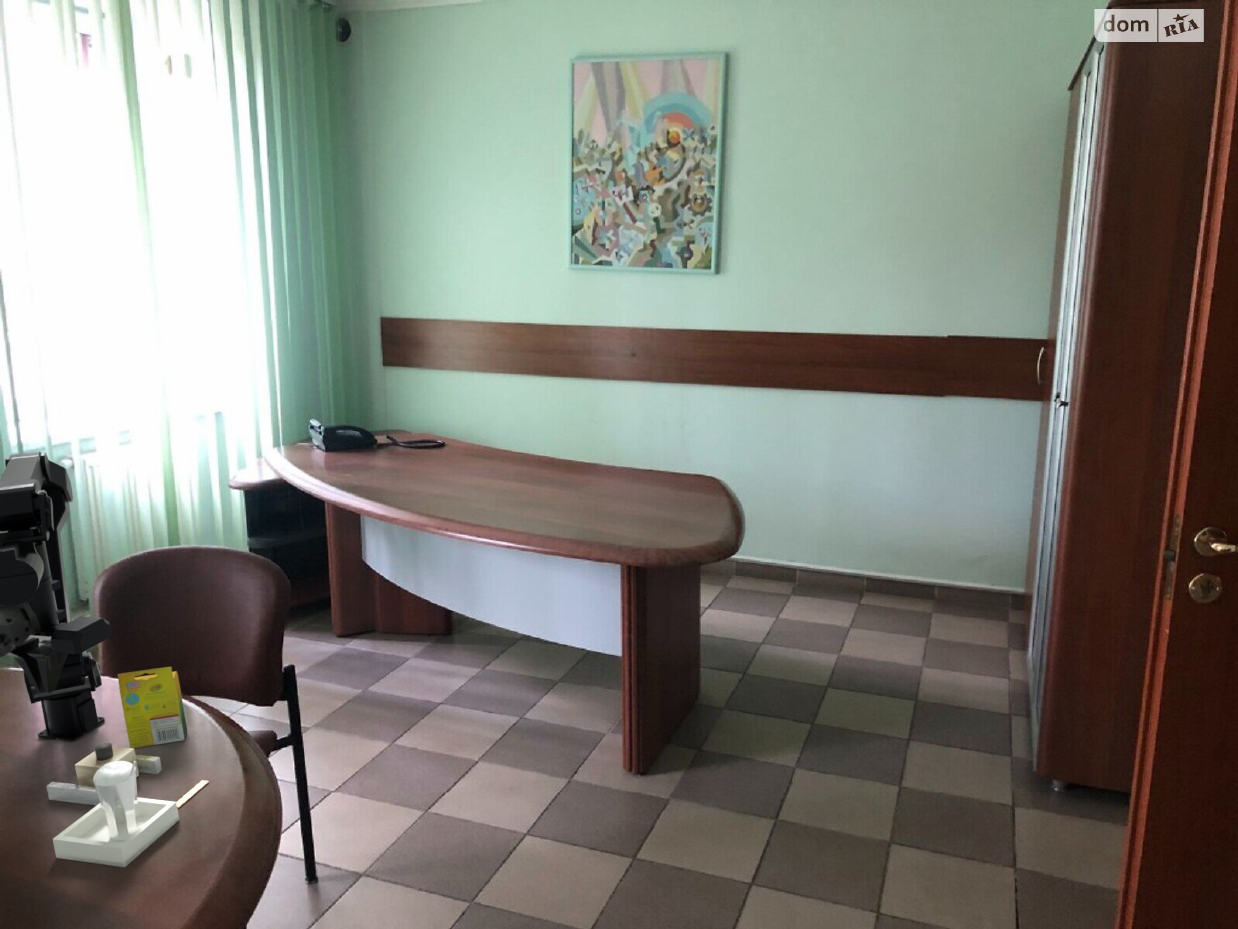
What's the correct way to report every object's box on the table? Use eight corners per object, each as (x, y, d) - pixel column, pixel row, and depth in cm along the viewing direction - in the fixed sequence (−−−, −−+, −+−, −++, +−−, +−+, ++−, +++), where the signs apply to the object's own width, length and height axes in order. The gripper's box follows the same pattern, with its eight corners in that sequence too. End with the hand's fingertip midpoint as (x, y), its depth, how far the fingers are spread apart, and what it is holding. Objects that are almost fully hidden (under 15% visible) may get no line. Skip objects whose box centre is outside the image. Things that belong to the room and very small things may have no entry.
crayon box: (188, 731, 143) (177, 658, 140) (184, 741, 140) (173, 667, 138) (133, 739, 141) (121, 665, 139) (129, 749, 139) (116, 674, 136)
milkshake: (134, 847, 115) (121, 771, 112) (95, 843, 116) (81, 767, 114) (159, 824, 119) (147, 751, 117) (121, 820, 120) (108, 748, 118)
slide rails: (49, 799, 127) (46, 786, 126) (100, 763, 135) (97, 750, 135) (171, 815, 122) (168, 800, 122) (215, 776, 131) (214, 763, 130)
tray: (56, 857, 114) (52, 839, 114) (114, 811, 123) (111, 794, 123) (124, 867, 112) (121, 848, 111) (179, 819, 121) (176, 802, 120)
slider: (79, 792, 128) (72, 754, 126) (107, 772, 132) (101, 735, 131) (111, 796, 126) (105, 758, 125) (138, 775, 131) (132, 738, 130)
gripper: (-91, 598, 119) (-66, 714, 123) (35, 607, 115) (57, 727, 118) (-14, 568, 130) (7, 676, 133) (104, 575, 125) (123, 686, 129)
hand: (46, 691), depth 128 cm, fingers closed
